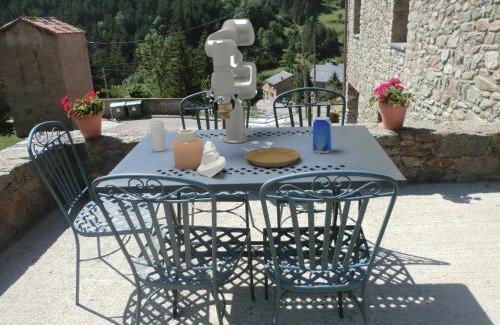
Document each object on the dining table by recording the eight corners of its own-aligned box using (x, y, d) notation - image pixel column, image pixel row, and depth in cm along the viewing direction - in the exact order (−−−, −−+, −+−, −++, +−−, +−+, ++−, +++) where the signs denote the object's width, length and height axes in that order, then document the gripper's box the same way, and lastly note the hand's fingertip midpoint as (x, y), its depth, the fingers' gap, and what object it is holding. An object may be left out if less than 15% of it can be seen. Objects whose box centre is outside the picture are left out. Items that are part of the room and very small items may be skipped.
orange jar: (199, 158, 196) (197, 126, 191) (207, 166, 184) (205, 132, 180) (171, 162, 192) (168, 130, 187) (177, 170, 180) (174, 136, 175)
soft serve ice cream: (194, 182, 170) (184, 148, 168) (206, 173, 184) (196, 141, 182) (223, 175, 167) (213, 140, 165) (232, 166, 181) (223, 134, 179)
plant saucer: (286, 151, 204) (285, 144, 203) (309, 164, 182) (309, 157, 181) (238, 157, 196) (238, 150, 195) (257, 172, 174) (257, 165, 173)
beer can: (332, 149, 201) (333, 116, 196) (328, 154, 194) (328, 120, 189) (315, 148, 205) (315, 115, 200) (310, 153, 197) (310, 119, 193)
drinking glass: (163, 152, 208) (160, 122, 204) (150, 152, 210) (147, 122, 205) (168, 148, 215) (165, 119, 210) (156, 148, 216) (153, 119, 212)
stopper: (229, 116, 197) (229, 102, 195) (235, 118, 191) (234, 104, 189) (215, 117, 195) (214, 103, 193) (220, 120, 188) (219, 105, 187)
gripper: (237, 67, 193) (239, 106, 198) (200, 70, 187) (203, 110, 192) (243, 68, 186) (245, 109, 191) (205, 71, 180) (208, 112, 185)
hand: (224, 109), depth 192 cm, fingers closed on stopper, 7 cm apart
